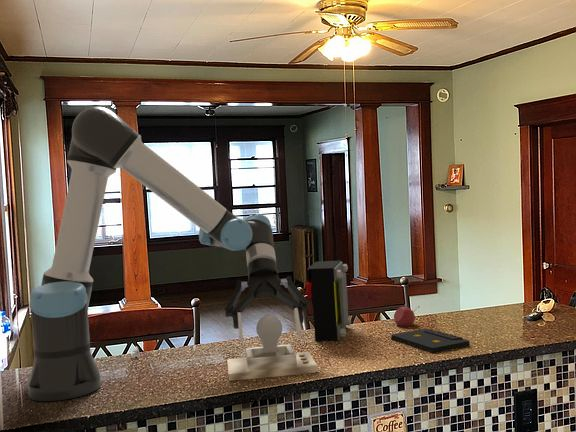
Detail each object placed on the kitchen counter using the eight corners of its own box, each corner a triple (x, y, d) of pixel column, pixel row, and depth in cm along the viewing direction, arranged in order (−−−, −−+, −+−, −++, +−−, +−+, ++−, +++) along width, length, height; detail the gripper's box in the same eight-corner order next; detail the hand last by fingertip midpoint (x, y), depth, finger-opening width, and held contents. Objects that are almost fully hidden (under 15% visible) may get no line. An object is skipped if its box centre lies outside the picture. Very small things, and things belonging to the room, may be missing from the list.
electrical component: (345, 341, 164) (341, 267, 163) (308, 341, 166) (304, 269, 165) (351, 326, 181) (347, 260, 180) (318, 327, 183) (314, 261, 182)
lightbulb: (287, 359, 143) (284, 312, 143) (279, 366, 137) (277, 318, 137) (262, 358, 145) (260, 312, 145) (254, 365, 139) (251, 317, 139)
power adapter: (141, 359, 159) (140, 347, 159) (131, 360, 158) (130, 349, 158) (138, 356, 162) (137, 345, 162) (128, 358, 161) (127, 346, 161)
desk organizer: (228, 380, 134) (227, 363, 133) (227, 365, 146) (226, 348, 146) (317, 372, 136) (316, 354, 136) (309, 357, 149) (308, 341, 149)
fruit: (415, 333, 176) (425, 307, 178) (400, 325, 175) (410, 300, 176) (403, 329, 182) (413, 305, 183) (389, 322, 180) (399, 297, 181)
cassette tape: (470, 348, 151) (470, 339, 151) (433, 355, 146) (432, 346, 146) (425, 335, 167) (425, 327, 167) (390, 341, 162) (390, 333, 162)
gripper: (309, 271, 159) (322, 340, 144) (213, 278, 156) (217, 349, 142) (311, 252, 153) (324, 323, 139) (212, 259, 151) (215, 332, 136)
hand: (270, 336), depth 140 cm, fingers open, 13 cm apart
